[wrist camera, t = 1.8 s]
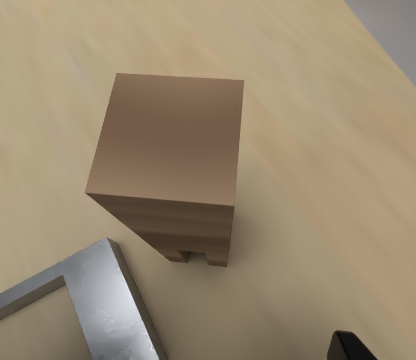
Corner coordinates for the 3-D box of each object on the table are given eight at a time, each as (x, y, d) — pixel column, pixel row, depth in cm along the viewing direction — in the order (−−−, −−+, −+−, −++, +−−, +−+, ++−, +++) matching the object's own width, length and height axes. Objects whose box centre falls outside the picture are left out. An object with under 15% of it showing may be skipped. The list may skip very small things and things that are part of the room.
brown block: (226, 266, 19) (234, 205, 7) (169, 260, 20) (85, 192, 7) (231, 211, 21) (244, 80, 8) (177, 206, 21) (116, 73, 9)
